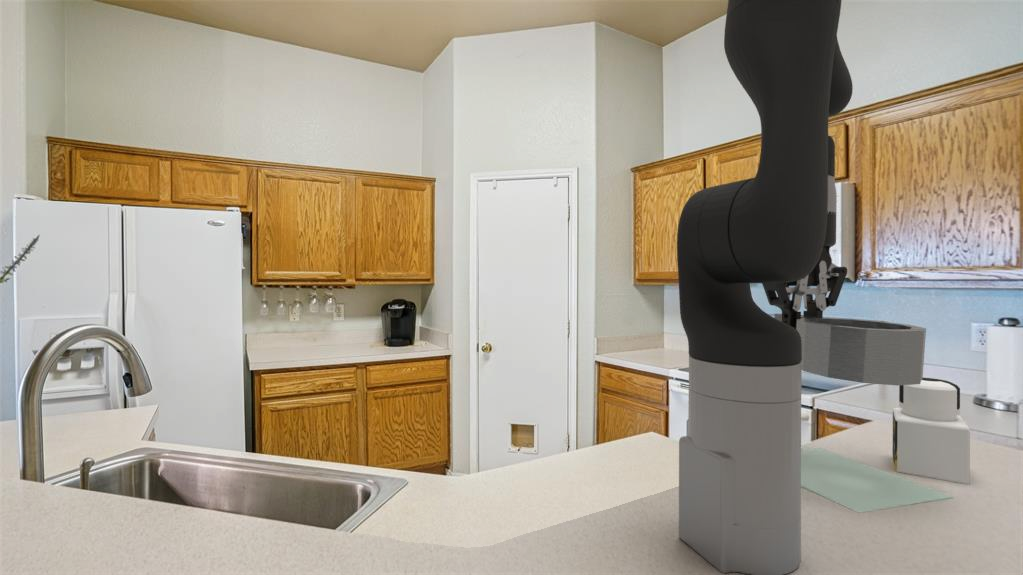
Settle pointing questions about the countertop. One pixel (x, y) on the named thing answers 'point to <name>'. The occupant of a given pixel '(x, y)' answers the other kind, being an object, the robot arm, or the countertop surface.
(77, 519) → the countertop surface
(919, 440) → the medicine bottle
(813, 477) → the mat
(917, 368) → the ring
